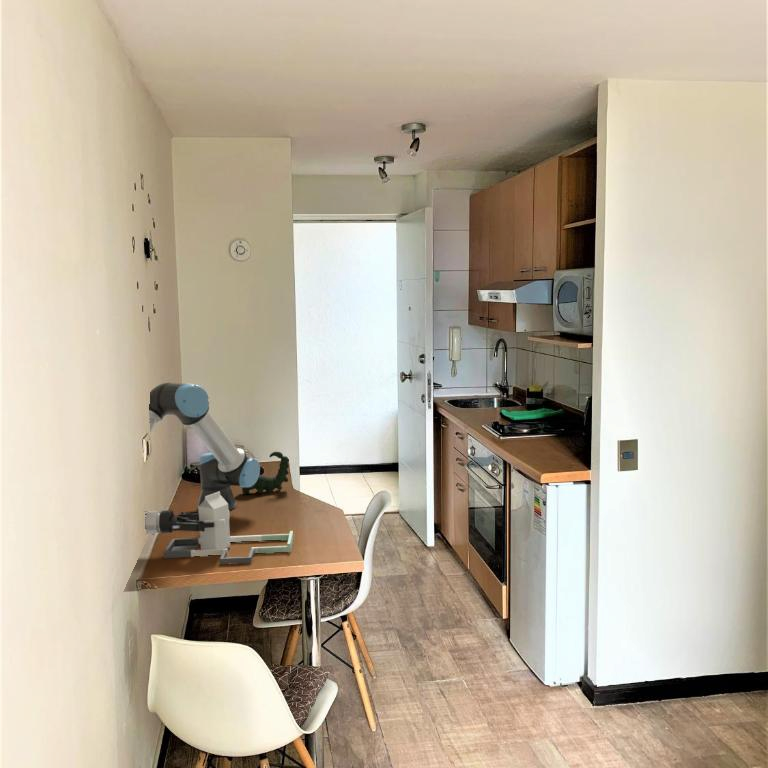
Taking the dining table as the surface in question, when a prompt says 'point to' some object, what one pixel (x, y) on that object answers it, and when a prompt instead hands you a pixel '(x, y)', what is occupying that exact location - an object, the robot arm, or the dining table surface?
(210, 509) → the milk carton
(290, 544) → the trap lane
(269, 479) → the toy figurine
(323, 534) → the dining table surface
